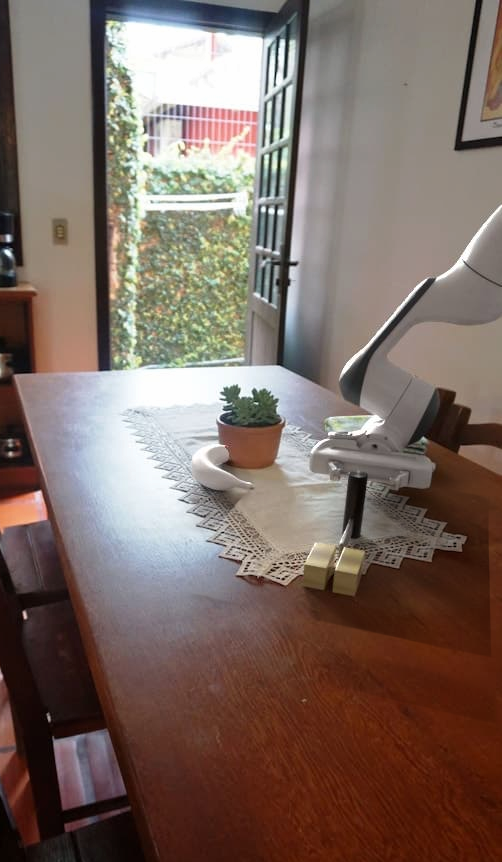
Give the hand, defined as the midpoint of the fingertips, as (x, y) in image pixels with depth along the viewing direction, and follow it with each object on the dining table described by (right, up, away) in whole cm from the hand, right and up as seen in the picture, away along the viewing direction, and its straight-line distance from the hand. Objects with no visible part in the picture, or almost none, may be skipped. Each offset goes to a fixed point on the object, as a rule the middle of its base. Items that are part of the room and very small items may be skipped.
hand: (363, 481), depth 109 cm
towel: (+10, +9, +40) cm, 42 cm away
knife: (-4, -10, -8) cm, 13 cm away
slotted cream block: (-6, -13, -11) cm, 18 cm away
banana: (-21, +1, +21) cm, 30 cm away
